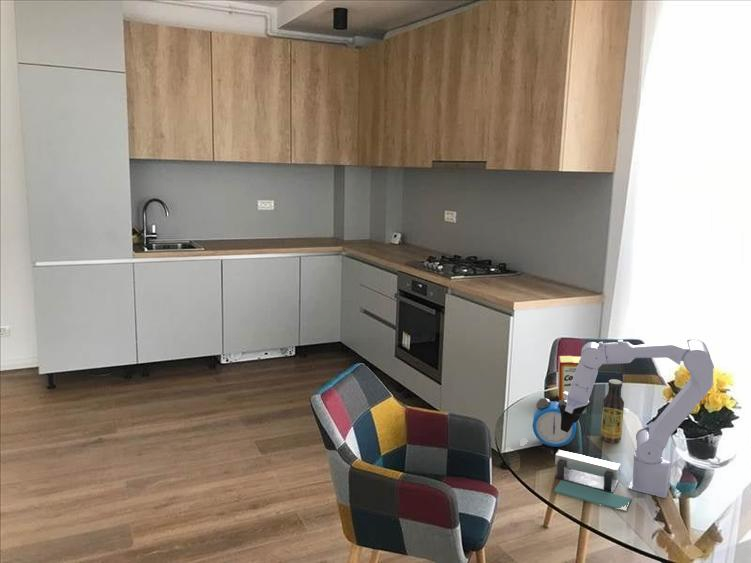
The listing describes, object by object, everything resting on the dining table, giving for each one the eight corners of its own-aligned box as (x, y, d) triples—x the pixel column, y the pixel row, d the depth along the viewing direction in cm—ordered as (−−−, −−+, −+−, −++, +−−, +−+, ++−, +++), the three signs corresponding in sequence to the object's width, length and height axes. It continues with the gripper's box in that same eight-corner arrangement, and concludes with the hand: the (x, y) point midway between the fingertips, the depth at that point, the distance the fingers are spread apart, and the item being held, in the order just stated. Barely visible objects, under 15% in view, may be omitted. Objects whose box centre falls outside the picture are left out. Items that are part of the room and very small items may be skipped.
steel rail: (619, 474, 174) (619, 464, 173) (616, 480, 171) (617, 469, 170) (558, 459, 183) (559, 449, 182) (555, 464, 180) (555, 454, 180)
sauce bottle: (599, 441, 199) (601, 383, 194) (602, 433, 204) (604, 376, 200) (621, 445, 196) (623, 386, 191) (623, 436, 201) (626, 379, 197)
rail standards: (618, 482, 176) (619, 465, 175) (612, 493, 171) (613, 476, 170) (562, 468, 185) (562, 452, 184) (555, 478, 180) (555, 461, 178)
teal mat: (631, 500, 167) (631, 498, 167) (626, 512, 163) (626, 509, 162) (561, 481, 178) (561, 479, 178) (554, 492, 173) (554, 490, 173)
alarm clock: (532, 445, 199) (532, 401, 195) (533, 436, 205) (533, 394, 201) (575, 449, 195) (576, 405, 191) (575, 440, 201) (576, 397, 197)
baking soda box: (584, 396, 233) (585, 355, 229) (586, 403, 226) (587, 362, 223) (557, 395, 235) (558, 355, 231) (558, 402, 228) (559, 361, 225)
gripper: (576, 370, 181) (563, 411, 185) (560, 385, 169) (546, 428, 174) (600, 380, 178) (586, 421, 182) (585, 396, 166) (571, 440, 170)
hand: (568, 425), depth 178 cm, fingers open, 7 cm apart
